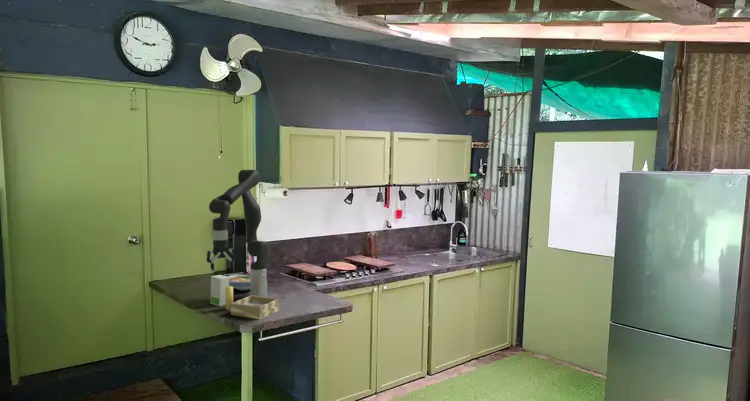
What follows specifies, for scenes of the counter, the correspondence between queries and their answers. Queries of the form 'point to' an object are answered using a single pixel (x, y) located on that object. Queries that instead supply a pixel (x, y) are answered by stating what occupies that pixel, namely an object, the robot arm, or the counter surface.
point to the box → (255, 307)
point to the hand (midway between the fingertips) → (221, 269)
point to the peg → (228, 297)
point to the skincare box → (218, 289)
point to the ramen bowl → (240, 281)
